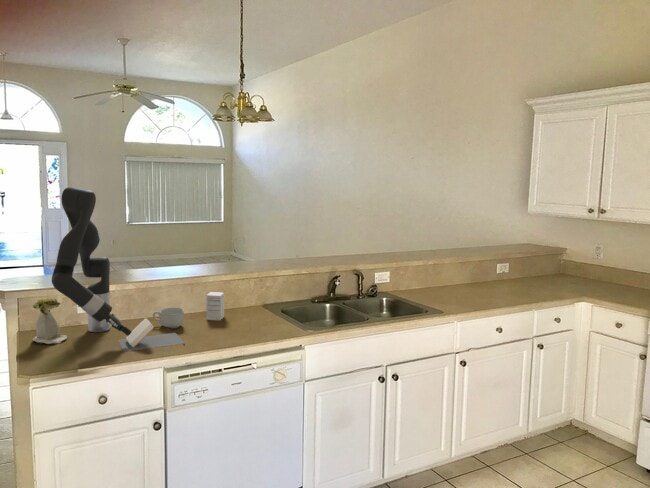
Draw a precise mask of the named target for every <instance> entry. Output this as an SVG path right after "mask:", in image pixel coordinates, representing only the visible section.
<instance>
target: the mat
mask: <svg viewBox="0 0 650 488" xmlns="http://www.w3.org/2000/svg"><path fill="white" fill-rule="evenodd" d="M117 341H118V342H119V345H120V346H121V348H122V351H123V353H125V352H130V351H131V352H132V351H138V350H146V349H147V350H148V349H154V348H161V347H167V346H168V347H169V346H175V345H177V346H178V345H183V346H185V342H184V341H183V339H182V338H181V337H180V336H179V335H178V334H177V333H176V332H171V333H170V332H169V333H163V334H154V335H146V336H145V337H144V338H143V339H142V340H141V341H140V342H139V343H138V344H137V345H136V346H135V347H132V346H131V345H130V344H129V342H128V340H127V339H126V338H122V339H118V340H117Z"/></svg>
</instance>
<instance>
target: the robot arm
mask: <svg viewBox="0 0 650 488" xmlns="http://www.w3.org/2000/svg"><path fill="white" fill-rule="evenodd" d="M60 198H61V206H62V209H63V210H64V213H65V215H66V217H67V219H68V222H69V224H70V226H71V227H70V228H71V229H70V230H69V232H68V233H66V234H65V236H64V237H63V238H62V239H61V241H60V244H59V247H58V252H57V257H56V263H55V265H54V268H53V272H52V276H51V284H52V285H53V287H54V289H55V290H56V291H58V292H59V293H61V294H62V295H64V296H65V297H67V298H69V299H70V300H71V301H72V302H73V303H74V304H75V305H77V306H78V307H80V308H81V309H82V310H83V311H84V312H85V313H86V314H87V327H88V328H87V330H88V332H90V333H103V332H107V331H110V329H111V328H113V329H115V330H118V332H122V333H123V334H125V336H126V337H127V336H129V335H130V334H131V332H132V330H131V329H130V328H128V327H127V326H125V324H124V323H123V321H121V319H120V318H119V317H117V316H116V314H114V313H111V312H112V310H113V307H112V306H111V301H110V298H111V295H110V274H111V272H110V270H111V268H110V267H111V265H110V264H111V263H110V259H109V258H108V257H107V256H91V255H92V253H94V252H95V250H96V249H97V248H98V246H99V243H100V241H101V240H100V239H101V238H100V234H99V230H98V228H97V226H96V224H95V223H94V222H92V220H91V219H92V215H93V213H94V211H95V208H96V207H95V206H96V203H97V197H96V194H95V192H94V191H92V190H88V189H83V188H79V187H74V186H69V187H66V188H64V189H63V191H62V193H61V197H60ZM79 258H80V263H81V268H82V270H81V271H82V272H83V275H84V276H85V277H86V278H93V279H95V278H99V279H100V280H99V281H98V282H96V283H93V284H90V285H88V286H87V287H86V286H84V285H82V284H81V283H80V282H79V281H78V280H76V278H74V277H73V274H74V271H75V270H74V269H75V267H76V265H77V262H78V259H79Z"/></svg>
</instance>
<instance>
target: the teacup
mask: <svg viewBox="0 0 650 488" xmlns="http://www.w3.org/2000/svg"><path fill="white" fill-rule="evenodd" d="M184 313H185V309H183V308H181V307H174V306H173V307H172V306H170V307H165V308H162V309H161V310H160V311H159V310H155V311H153V313H152V318H153V319H154V320H155V321H157V322H158V323H159V324H161V325H162V326H163V327H164V328H168V329H170V330H171V329H177V328H179V327H180V326H182V324H183V323H184V320H185V319H184V317H185V316H184V315H185V314H184ZM156 314H158V316H159V317H160V318H159V317H158V318H157V316H156Z"/></svg>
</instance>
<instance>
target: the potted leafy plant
mask: <svg viewBox="0 0 650 488" xmlns="http://www.w3.org/2000/svg"><path fill="white" fill-rule="evenodd" d="M61 303H62V302H61ZM61 303H60V302H58V300H57V299H56V298H53V297H43V298H39V299H38V300H37V301H36V302H35V303H34V304H32V308H34V309H35V310H39V312H40V313H39V315H38V317H37V320H36V324H35V326H36V327H35V330H36V331H35V332H36V336H34V337H33V338H32V339H31V341H32V342H36V343H40V344H43V343H44V344H47V345H50V344H61V343H62V342H63V341H66V339H68V336H67V334H66V335H63V334H62V335H61V334H60V333H59V332H60V330H61V329H60V325H59V322H58V321H57V320H56V318H55V317H54V315H53V314H52V313H51V311H52V309H56V308H59V306H60V305H61Z"/></svg>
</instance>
